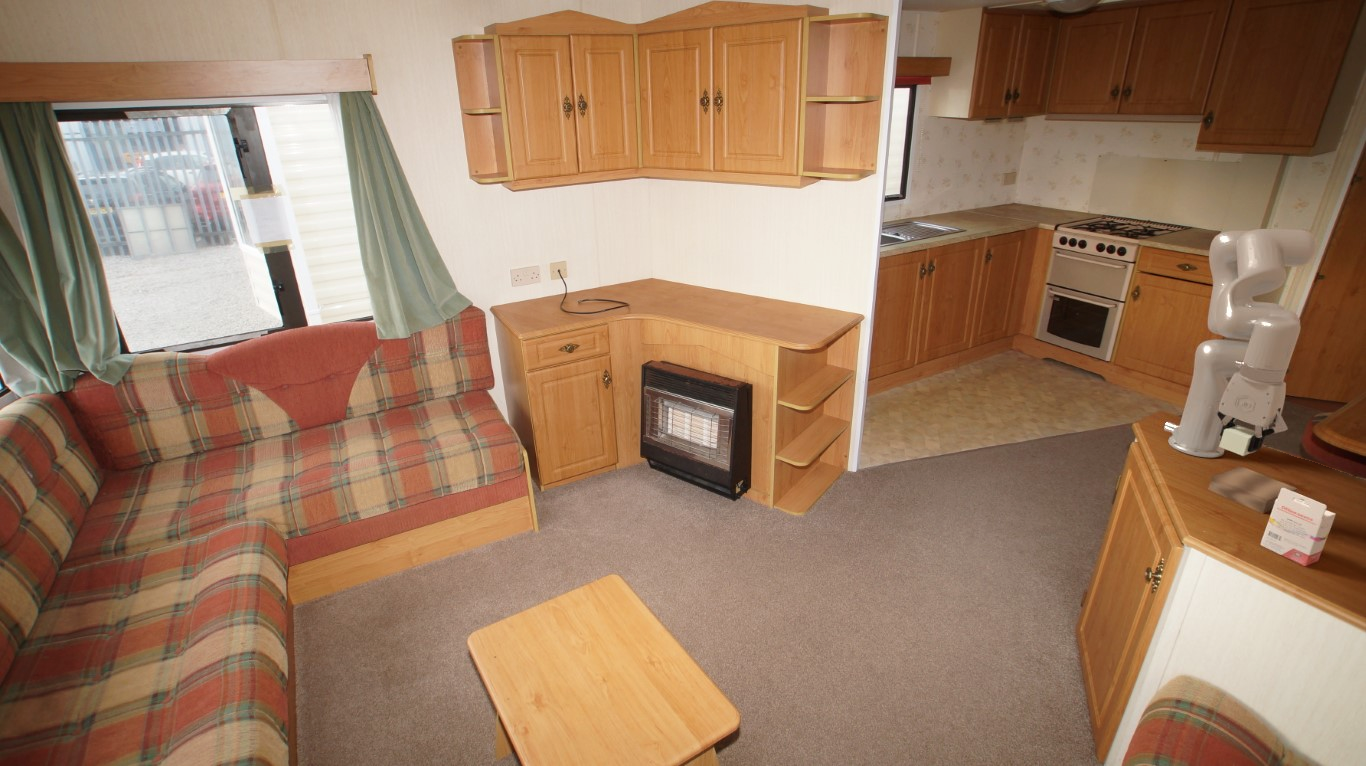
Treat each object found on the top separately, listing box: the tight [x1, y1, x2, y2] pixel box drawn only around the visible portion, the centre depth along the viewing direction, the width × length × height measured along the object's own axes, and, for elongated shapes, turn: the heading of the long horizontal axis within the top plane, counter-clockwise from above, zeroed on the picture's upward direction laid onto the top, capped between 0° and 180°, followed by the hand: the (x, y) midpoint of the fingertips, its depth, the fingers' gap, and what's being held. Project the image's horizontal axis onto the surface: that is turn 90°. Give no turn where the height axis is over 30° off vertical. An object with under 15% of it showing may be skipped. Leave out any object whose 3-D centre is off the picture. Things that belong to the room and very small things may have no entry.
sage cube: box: [1219, 424, 1258, 457], centre depth 152 cm, size 5×5×4 cm
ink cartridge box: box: [1260, 488, 1336, 567], centre depth 139 cm, size 9×5×15 cm, turn 22°
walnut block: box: [1207, 466, 1298, 514], centre depth 162 cm, size 12×12×4 cm
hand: (1238, 444), depth 152 cm, fingers closed on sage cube, 4 cm apart
